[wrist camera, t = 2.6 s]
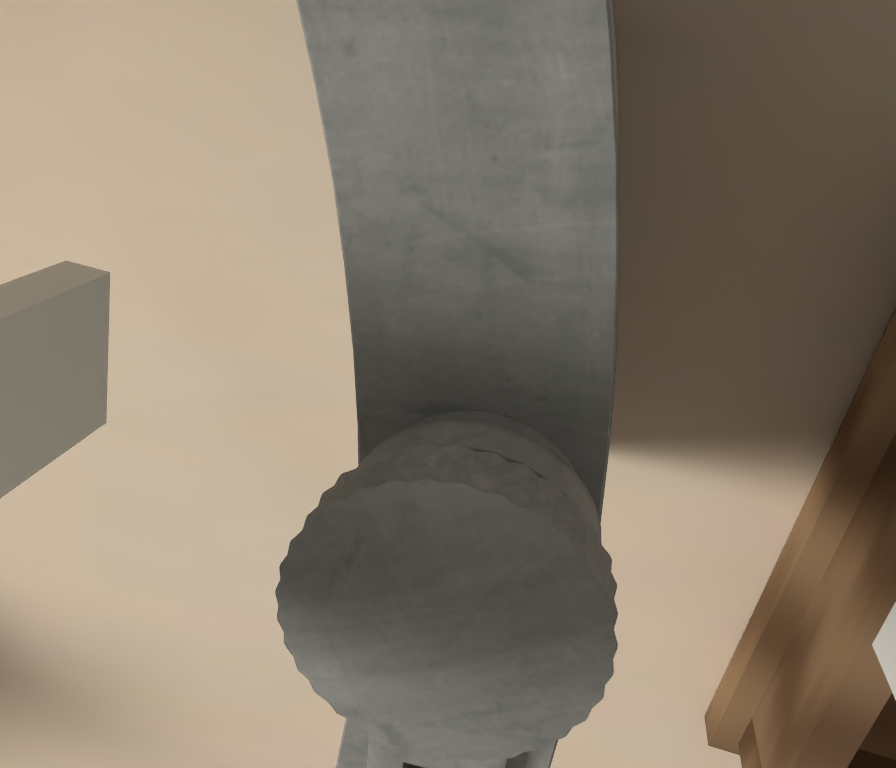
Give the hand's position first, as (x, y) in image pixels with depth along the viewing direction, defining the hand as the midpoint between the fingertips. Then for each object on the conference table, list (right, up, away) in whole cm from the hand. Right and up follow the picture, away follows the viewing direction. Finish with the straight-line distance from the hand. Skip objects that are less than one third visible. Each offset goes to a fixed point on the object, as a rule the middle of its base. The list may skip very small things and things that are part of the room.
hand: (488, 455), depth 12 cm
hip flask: (+3, +6, +14) cm, 16 cm away
